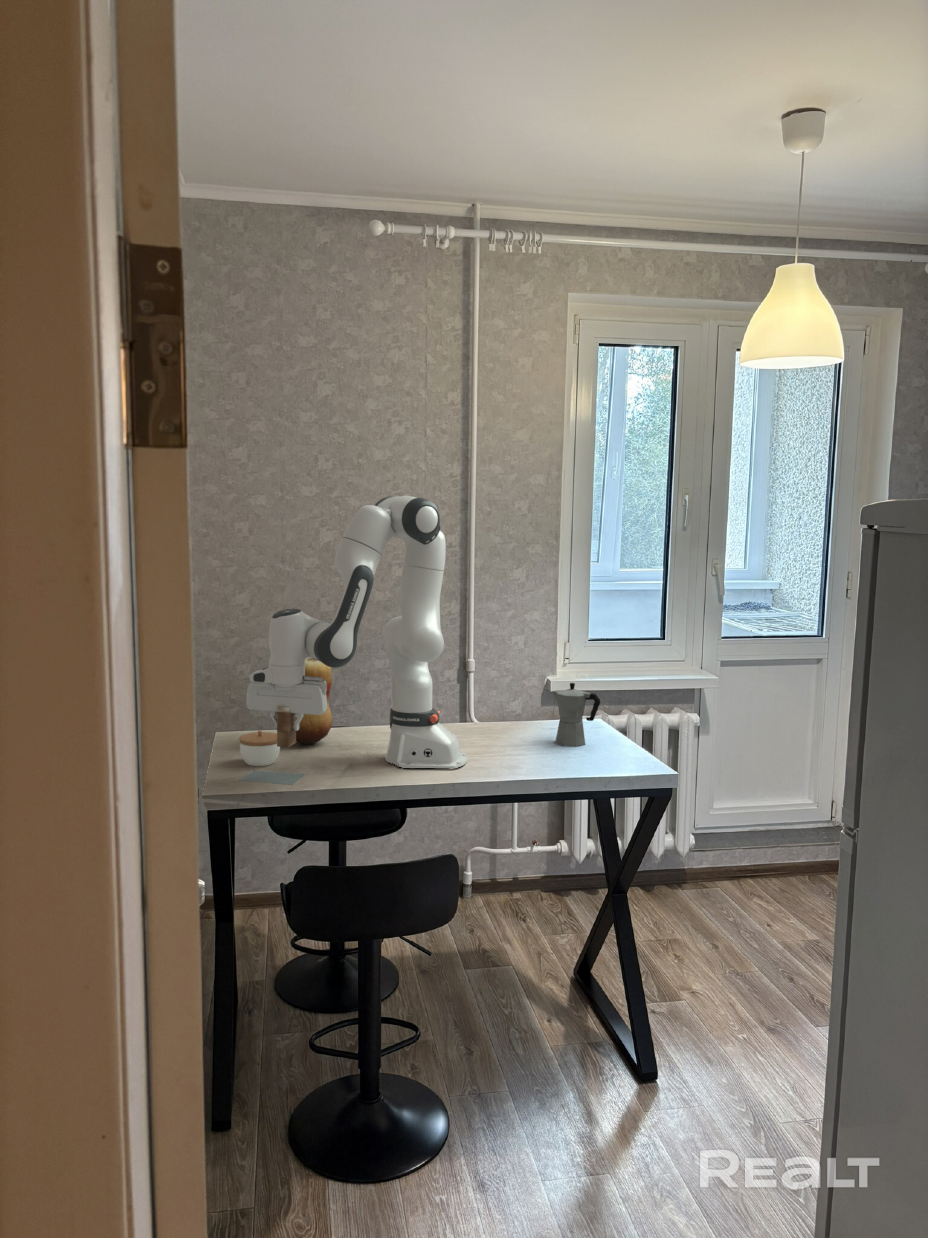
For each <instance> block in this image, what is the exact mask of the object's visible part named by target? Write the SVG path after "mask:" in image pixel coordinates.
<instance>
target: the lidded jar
mask: <svg viewBox="0 0 928 1238" xmlns="http://www.w3.org/2000/svg"><path fill="white" fill-rule="evenodd" d="M238 741H239V751H240V756H241V758H242V760H243V762H244V763H246V765H248V766H250V767H251V766H252V767H266V766H270V765H273V764H274V763H275V762H276V760H277V759H278V758H279V754H280V751H281V747H278V746H277V732H276V733H275V732H272V731H271V732H269V731H263V730H258V731H257V732H250V733H245V734H242V735H241V736H239V737H238Z"/></svg>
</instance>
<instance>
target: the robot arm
mask: <svg viewBox="0 0 928 1238" xmlns="http://www.w3.org/2000/svg"><path fill="white" fill-rule="evenodd" d="M436 505H437V504H435V503H434V502H432V501H431V500H429V499H427V498H424V497H416V496H412V495H411V496H410V495H402V496H398V495H397V496H394V495H389V496H385V497H383V498H381V499H379V500H378V501H377V502H375V503H374V505H372V504H366V505H363V506H361V507H360V508H359V509H358V510H357V511H356V513H355V514H354V516H352V519H351V520H350V522H349V524H348V525H347V527H346V529H345V530H344V532H343V535H342V536H341V539H340V541H339V543H338V546H337V549H336V553H335V556H334V565H335V566H334V567H336V571H337V572H338V574H339V576H340V577H341V578H342V581H343V585H344V586H343V593H342V596H341V599H340V602H339V605H338V607H337V610H336V614H335V615H334V618H333V619H332V622H331V623H330V622H327V621H322V620H320V619H317V618H315V617H313V616H311V615H309V614H306V612H303V610H301V609H300V608H287V609H282V610H279V611H277V612H275V613H274V614H273V615H272V616H271V618H270V623H269V629H268V630H269V631H268V648H269V651H270V655H269V660H268V666H267V667H263V668H261V669H259V670H255V671H253V672H251V673H250V674H249V681H250V683H249V684H248V685H247V688H246V689H247V690H246V701H245V703H246V704H245V705H246V707H247V709H249V710H250V711H261V712H269V716H270V718H271V720H272V722H273V724H274V725H273V726H274V727H273V729H274V730H277V707H278V706H283V707H290V713H295V717H298V718H297V720H296V721H295V722H293V723H292V724H291V727H292V728H291V730H293V731H298V730H299V723H300V721H301V720H302V718H303V716H304V714H313V715H321V714H323V713H324V712H325V711H326V710H327V697H326V692H327V683H326V681H325V680H323V679H322V678H321V677H311V676H305V660H306V659H307V658H313V659H315V660H318V661H320V662H322V663H323V664H325V665H326V666H329V667H331V668H335V669H336V668H341V667H343V666H345V665H347V664H348V663H349V662H351V660H352V659H353V658H354V656H355V653H356V652H357V646H358V645H357V643H358V632H359V628H360V625H361V621H362V619H363V616H364V613H365V610H366V607H367V604H368V602H369V600H370V595H371V593H372V589H373V585H374V581H375V580H374V579H375V574H376V571H377V568H378V565H379V563H380V560H381V558H382V555H383V553H384V551H385V549H386V546H387V544H388V542H389V541H390V540H391V539H392V538H393V537H394V538H398V539H403V541H404V543H405V544H404V545H405V553H404V559H403V565H402V570H401V571H402V572H401V577H400V583H399V584H400V585H399V591H398V594H399V598H400V603H401V604H400V606H401V615H398V616H396V617H393V618H391V619H390V620H388V621H387V623H386V624H385V626H384V628H383V635H382V636H383V640H384V642H385V646H386V651H387V658H388V666H389V670H390V677H391V678H390V679H391V708H390V709H389V710H390V711H389V729H390V734H389V741H388V747H387V750H386V751H387V752H386V754H385V757H384V759H385V761H386V762H387V763H389V762H390V763H389V764H392V763H393V764H392V765H394V764H395V766H396V765H397V766H396V767H398V766H399V767H402V768H401V769H403V768H458V767H460V766H462V765H464V764H465V763H466V762H467V763H468V761H469V759H468V754H466V753H465V752H461V750H460V748H461V746H460V743H459V739H458V737H457V735H455V734H454V733H453V732H452V731H450V730H449V729H448V728H446V726H444V725H443V724H442V723H440V715H441V710H438V711H437V710H436V709H434V708H433V679H432V676H431V673H430V669H429V663H430V662H433V661H435V660H437V658H439V657H440V655H441V654H442V653H443V651H444V648H445V647H444V646H445V645H444V644H445V641H444V640H445V639H444V636H443V634H442V633H443V632H442V630H441V629H442V627H441V606H440V605H441V591H442V585H443V579H444V573H445V565H446V555H447V554H446V553H447V551H446V550H447V549H446V547H447V546H446V545H447V544H446V543H447V542H446V536H445V534H444V533H443V532H442V531H441V515H440V511H439V508H438V507H437V506H436ZM321 680H322V681H323V682H322V681H321ZM467 760H468V761H467ZM467 763H466V764H467ZM466 764H465V765H466ZM465 765H464V766H465ZM399 767H398V768H399ZM458 769H459V768H458Z"/></svg>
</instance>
